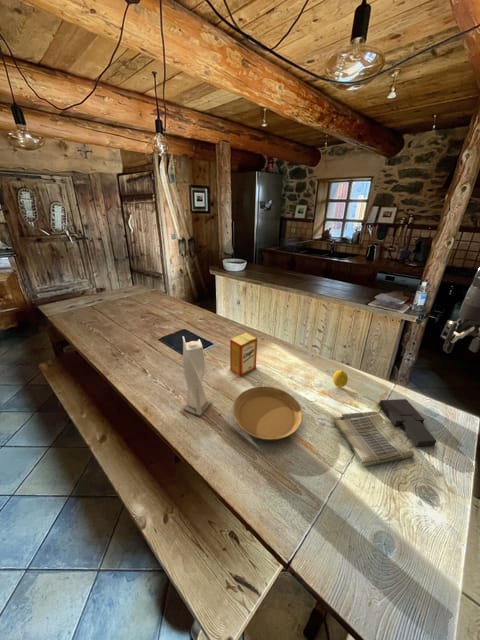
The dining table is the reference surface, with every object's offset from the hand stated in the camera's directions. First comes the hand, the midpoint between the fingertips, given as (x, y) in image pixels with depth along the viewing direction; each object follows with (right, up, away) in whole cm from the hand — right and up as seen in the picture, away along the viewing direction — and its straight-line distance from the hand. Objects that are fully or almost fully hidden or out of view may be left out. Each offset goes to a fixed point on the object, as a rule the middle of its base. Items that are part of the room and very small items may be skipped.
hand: (459, 351), depth 82 cm
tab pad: (-10, -28, +6) cm, 30 cm away
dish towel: (-26, -29, +4) cm, 39 cm away
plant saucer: (-58, -25, +12) cm, 65 cm away
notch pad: (-10, -24, +13) cm, 30 cm away
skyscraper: (-84, -22, +16) cm, 88 cm away
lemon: (-28, -18, +27) cm, 42 cm away
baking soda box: (-66, -12, +37) cm, 77 cm away
